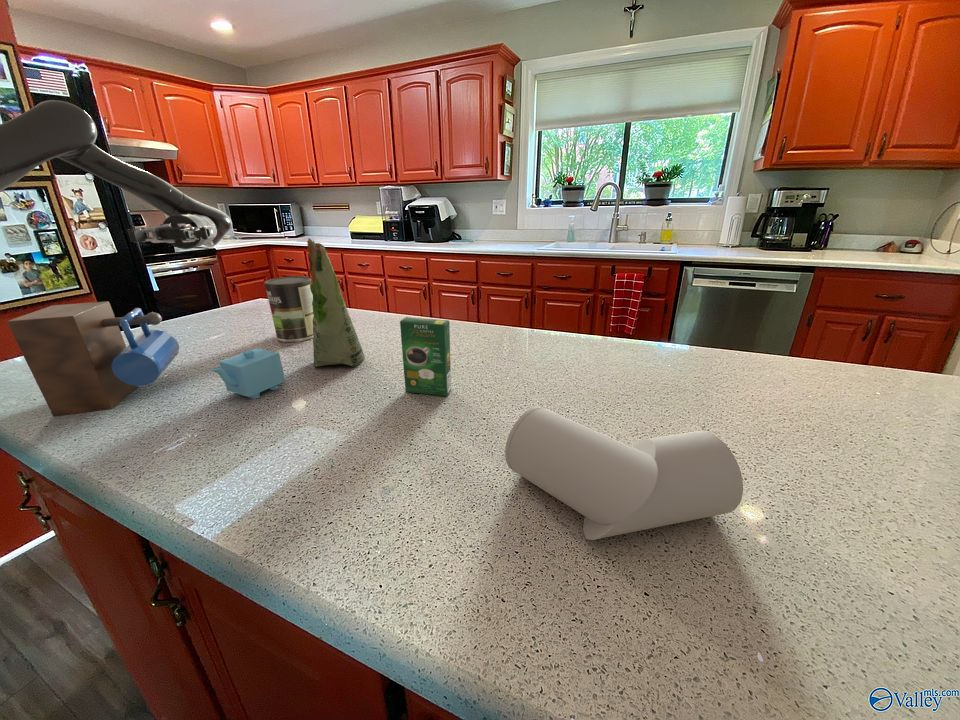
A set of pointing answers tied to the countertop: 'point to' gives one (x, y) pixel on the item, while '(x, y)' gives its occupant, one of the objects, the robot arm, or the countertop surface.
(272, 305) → the coffee can
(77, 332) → the peg box
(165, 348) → the blue mug
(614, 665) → the countertop surface
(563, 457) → the bent grey cylinder
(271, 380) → the teapot
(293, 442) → the countertop surface
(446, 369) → the coffee box
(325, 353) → the pouch
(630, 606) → the countertop surface
